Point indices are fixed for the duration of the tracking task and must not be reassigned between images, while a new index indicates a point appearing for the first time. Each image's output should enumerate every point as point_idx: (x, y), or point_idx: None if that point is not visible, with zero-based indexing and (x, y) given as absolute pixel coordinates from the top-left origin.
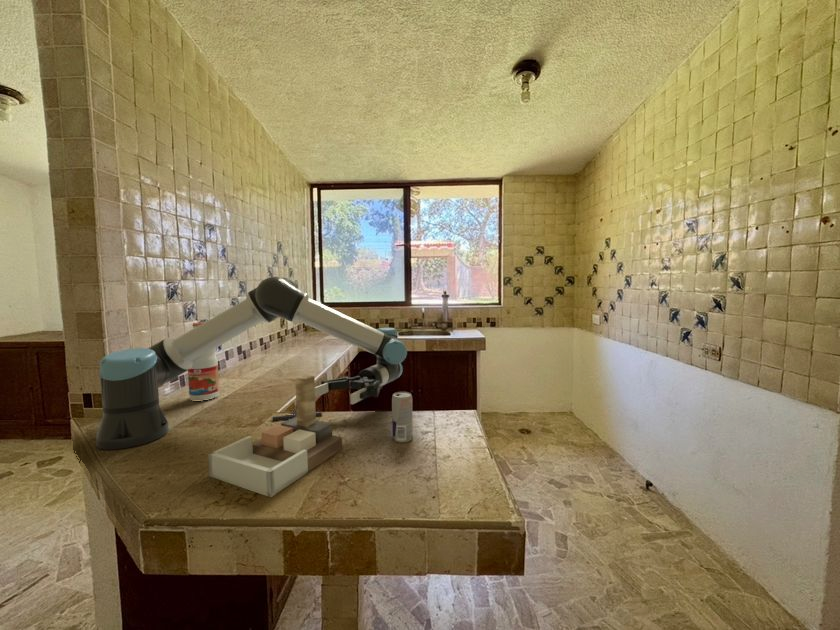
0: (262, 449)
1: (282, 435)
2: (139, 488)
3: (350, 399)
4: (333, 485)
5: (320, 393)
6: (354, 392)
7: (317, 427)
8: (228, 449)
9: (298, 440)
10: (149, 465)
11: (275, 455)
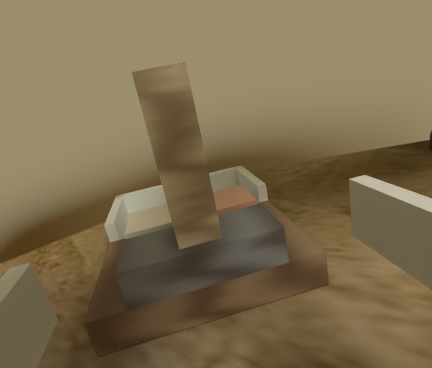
0: None
1: None
2: (278, 170)
3: (44, 293)
4: (45, 278)
5: (405, 259)
6: (4, 294)
7: (143, 243)
8: (242, 176)
9: (134, 212)
10: (340, 166)
11: None
